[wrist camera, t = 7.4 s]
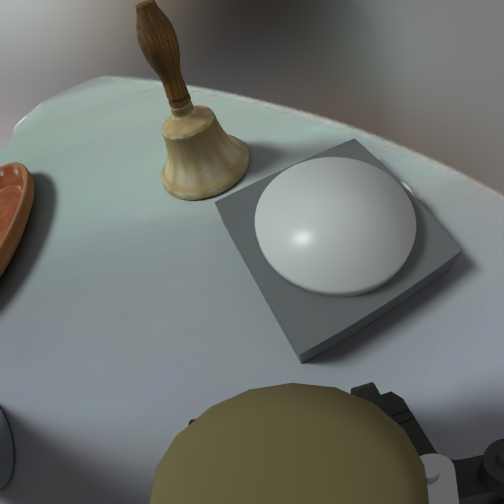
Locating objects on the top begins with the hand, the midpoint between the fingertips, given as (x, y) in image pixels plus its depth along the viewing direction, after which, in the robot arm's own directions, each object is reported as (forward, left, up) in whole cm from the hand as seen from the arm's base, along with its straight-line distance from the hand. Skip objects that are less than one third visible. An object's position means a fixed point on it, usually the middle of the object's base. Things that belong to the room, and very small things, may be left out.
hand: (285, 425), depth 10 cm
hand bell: (+3, +22, -9) cm, 24 cm away
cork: (-1, -2, -5) cm, 5 cm away
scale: (+8, +9, -8) cm, 15 cm away
